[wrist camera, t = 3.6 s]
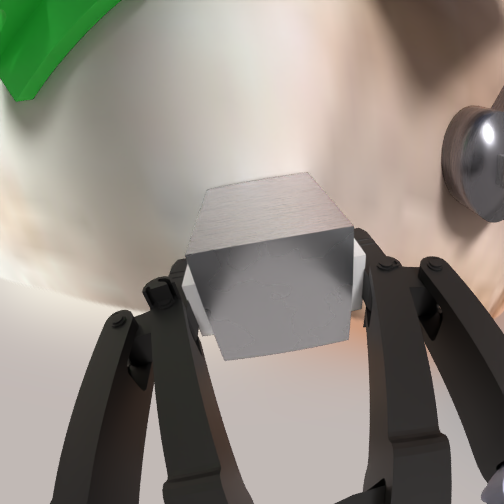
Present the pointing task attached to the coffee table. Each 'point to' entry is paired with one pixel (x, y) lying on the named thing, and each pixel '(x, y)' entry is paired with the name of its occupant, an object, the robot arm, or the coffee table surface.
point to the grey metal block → (273, 266)
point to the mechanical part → (41, 38)
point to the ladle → (477, 159)
